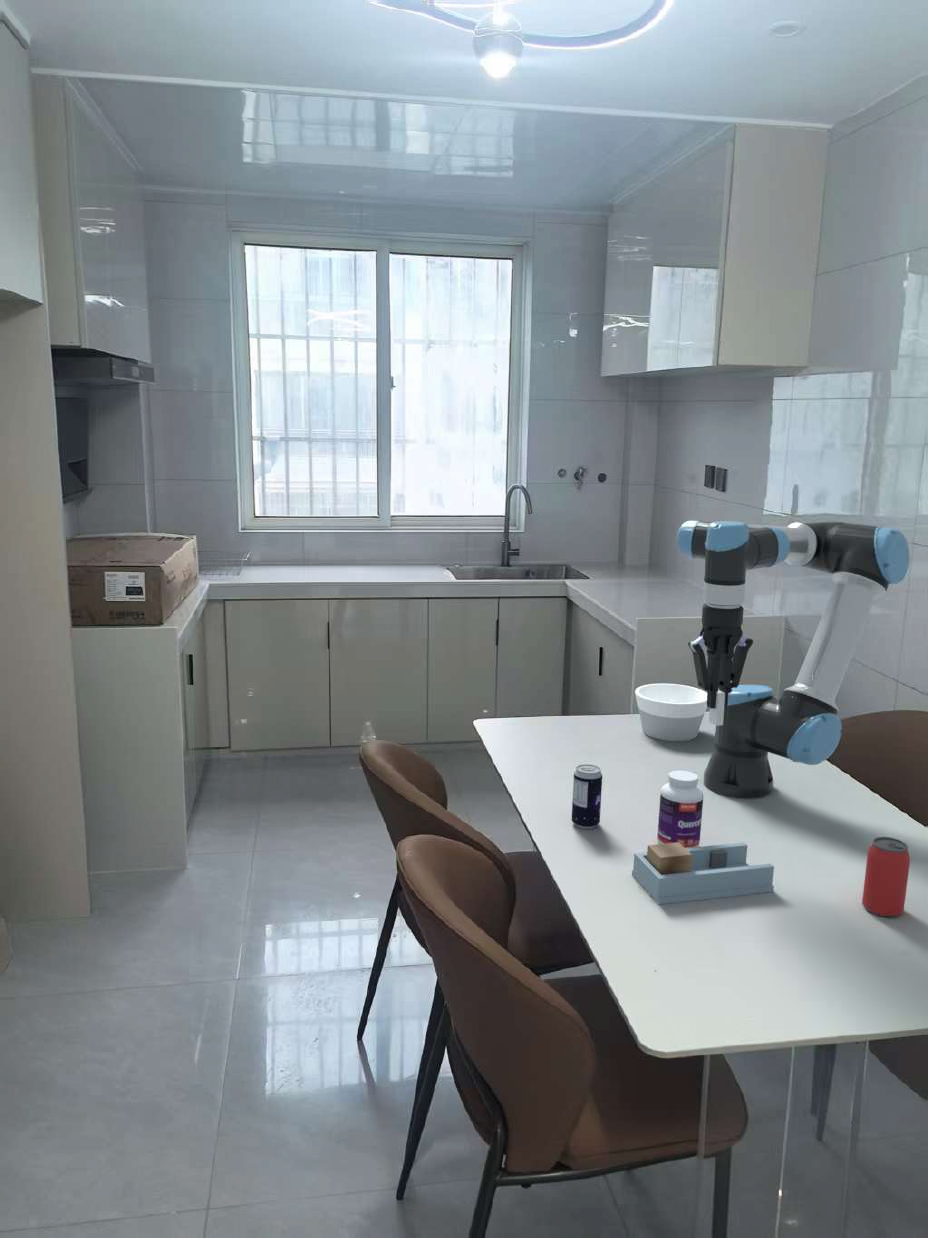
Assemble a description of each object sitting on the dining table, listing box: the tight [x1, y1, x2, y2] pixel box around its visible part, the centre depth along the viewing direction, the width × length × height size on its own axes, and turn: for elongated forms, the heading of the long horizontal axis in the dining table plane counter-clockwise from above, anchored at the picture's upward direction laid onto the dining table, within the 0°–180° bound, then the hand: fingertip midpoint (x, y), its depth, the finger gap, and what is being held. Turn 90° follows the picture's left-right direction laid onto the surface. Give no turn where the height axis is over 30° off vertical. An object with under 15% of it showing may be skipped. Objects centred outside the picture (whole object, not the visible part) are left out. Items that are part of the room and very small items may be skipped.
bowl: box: [634, 683, 708, 742], centre depth 255 cm, size 19×19×11 cm
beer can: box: [861, 836, 911, 918], centre depth 164 cm, size 7×7×12 cm
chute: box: [631, 842, 775, 905], centre depth 173 cm, size 22×11×4 cm, turn 105°
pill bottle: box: [656, 770, 704, 848], centre depth 187 cm, size 8×8×14 cm
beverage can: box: [571, 764, 603, 830], centre depth 196 cm, size 6×6×12 cm
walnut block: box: [646, 842, 692, 875], centre depth 171 cm, size 6×5×6 cm
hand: (715, 723), depth 189 cm, fingers closed
